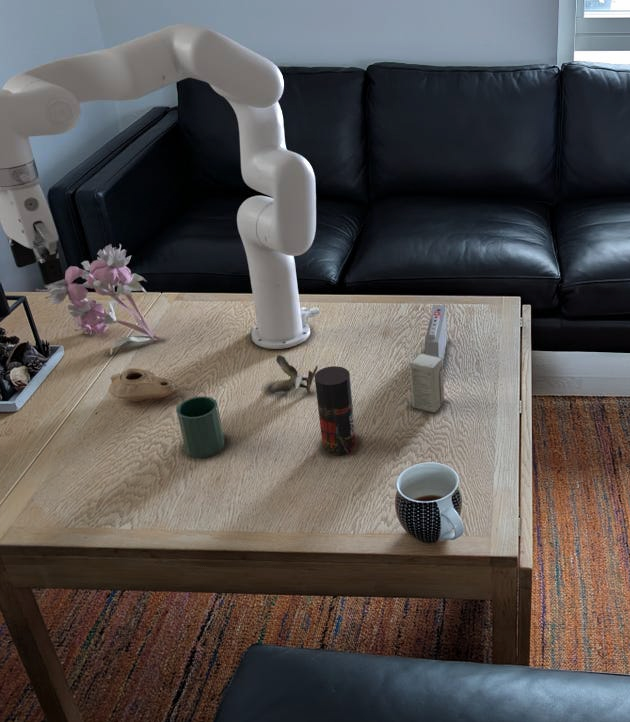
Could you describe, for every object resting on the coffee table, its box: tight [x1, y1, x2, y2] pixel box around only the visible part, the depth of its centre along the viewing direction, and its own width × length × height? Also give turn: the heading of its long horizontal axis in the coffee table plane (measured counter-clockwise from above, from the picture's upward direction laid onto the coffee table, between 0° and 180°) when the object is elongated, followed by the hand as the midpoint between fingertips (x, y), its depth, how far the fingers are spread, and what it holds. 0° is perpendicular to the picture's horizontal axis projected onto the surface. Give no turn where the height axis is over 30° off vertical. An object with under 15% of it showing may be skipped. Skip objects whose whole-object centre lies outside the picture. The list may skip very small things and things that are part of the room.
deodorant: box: [314, 365, 357, 457], centre depth 146 cm, size 6×6×15 cm
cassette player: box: [424, 304, 448, 359], centre depth 172 cm, size 16×3×10 cm, turn 176°
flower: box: [35, 243, 161, 355], centre depth 177 cm, size 20×22×25 cm
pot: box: [175, 395, 226, 459], centre depth 147 cm, size 7×7×8 cm
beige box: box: [409, 352, 445, 413], centre depth 158 cm, size 5×4×10 cm
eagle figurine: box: [267, 354, 319, 395], centre depth 163 cm, size 8×7×9 cm
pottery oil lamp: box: [108, 368, 176, 403], centre depth 160 cm, size 9×12×7 cm
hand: (40, 273), depth 138 cm, fingers open, 9 cm apart
